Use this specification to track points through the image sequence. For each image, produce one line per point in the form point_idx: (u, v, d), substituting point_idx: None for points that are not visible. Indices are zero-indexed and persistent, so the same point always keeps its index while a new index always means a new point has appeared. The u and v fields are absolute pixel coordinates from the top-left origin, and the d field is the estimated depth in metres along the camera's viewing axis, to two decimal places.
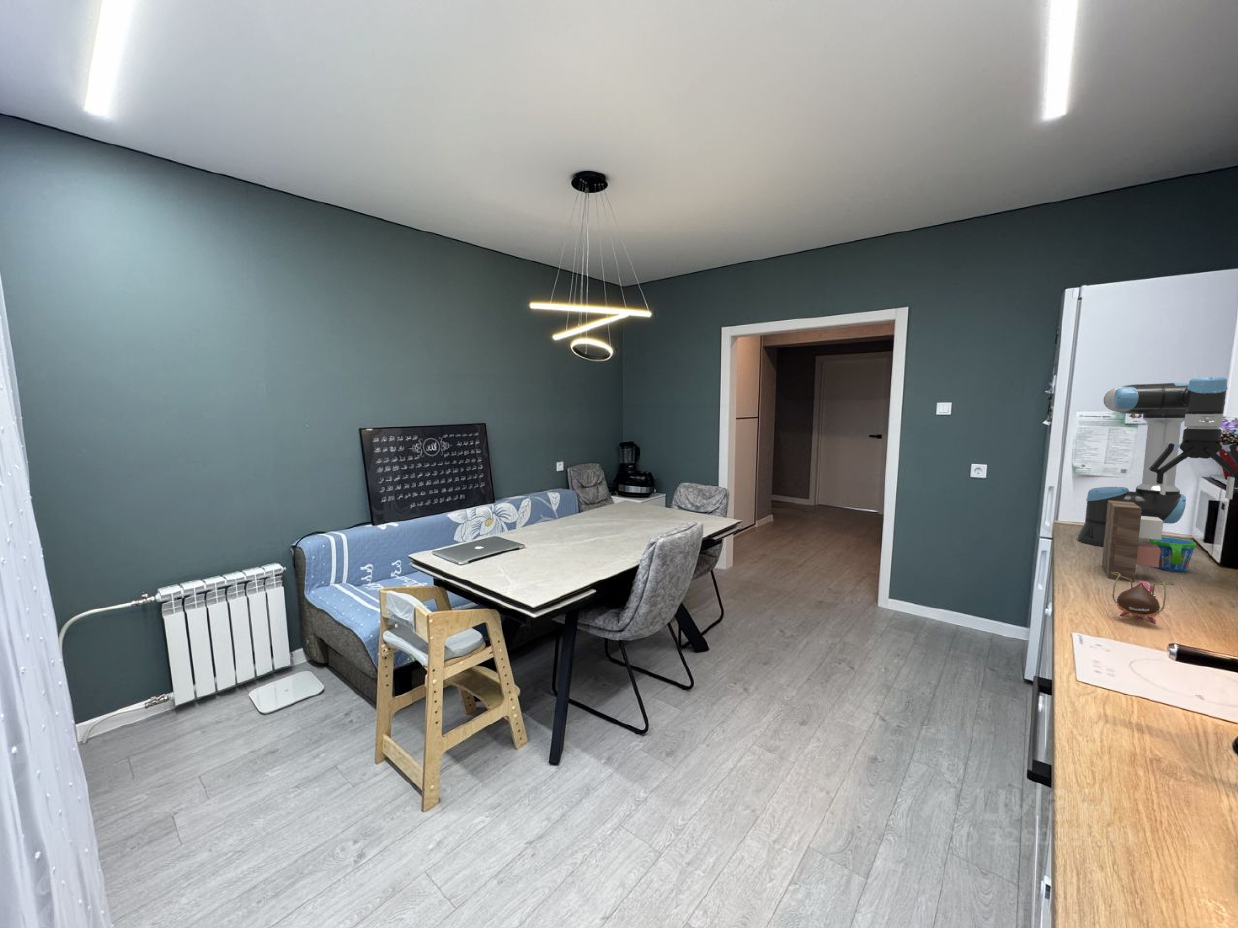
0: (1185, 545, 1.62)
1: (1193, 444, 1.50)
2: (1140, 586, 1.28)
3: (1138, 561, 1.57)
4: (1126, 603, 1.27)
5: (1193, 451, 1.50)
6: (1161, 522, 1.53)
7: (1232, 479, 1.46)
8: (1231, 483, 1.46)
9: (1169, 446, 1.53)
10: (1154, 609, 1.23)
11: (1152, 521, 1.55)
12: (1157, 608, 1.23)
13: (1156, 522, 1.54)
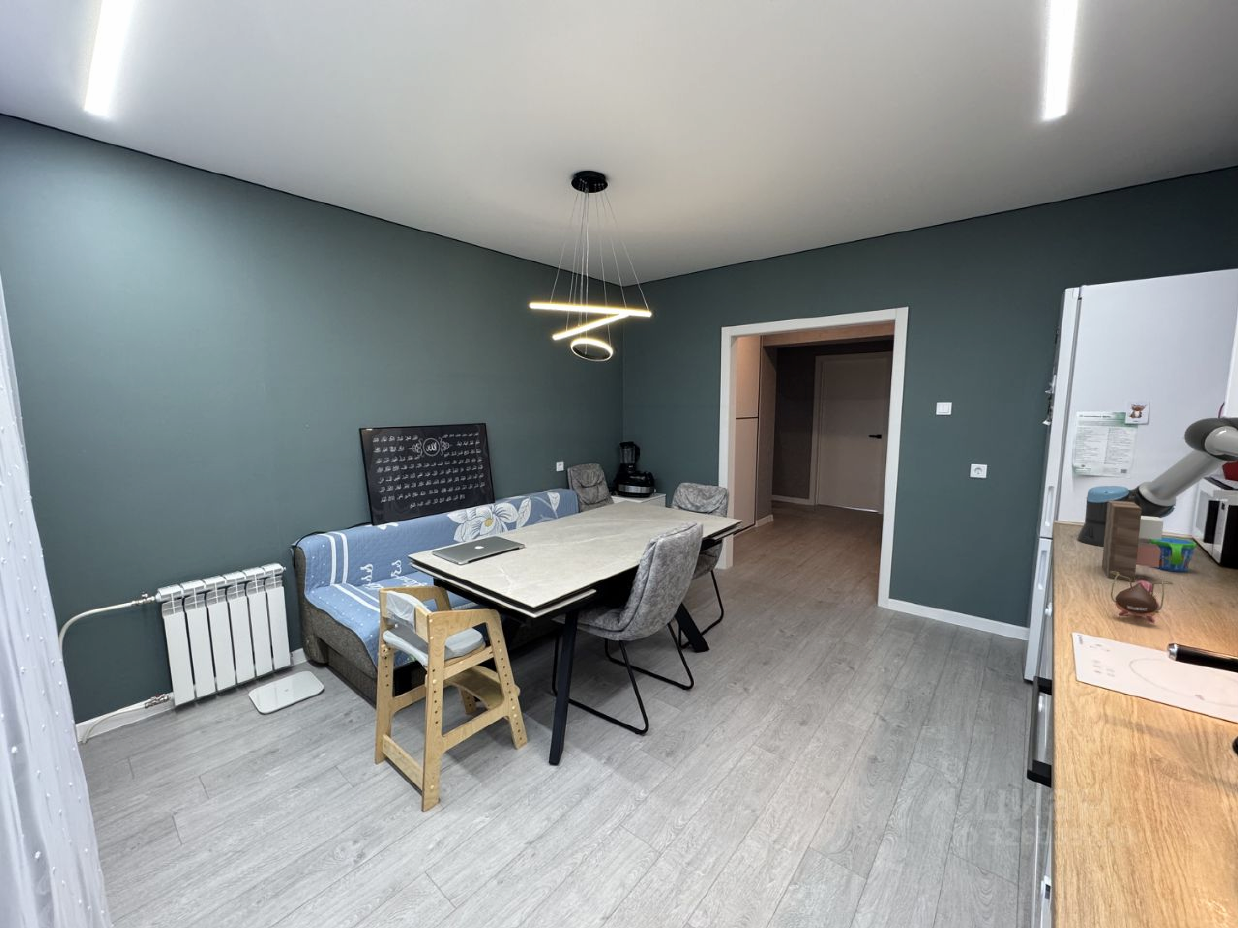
0: (1185, 545, 1.62)
1: None
2: (1139, 585, 1.29)
3: (1138, 561, 1.57)
4: (1124, 602, 1.27)
5: None
6: (1161, 522, 1.53)
7: None
8: None
9: None
10: (1153, 608, 1.24)
11: (1152, 521, 1.55)
12: (1155, 607, 1.24)
13: (1156, 522, 1.54)
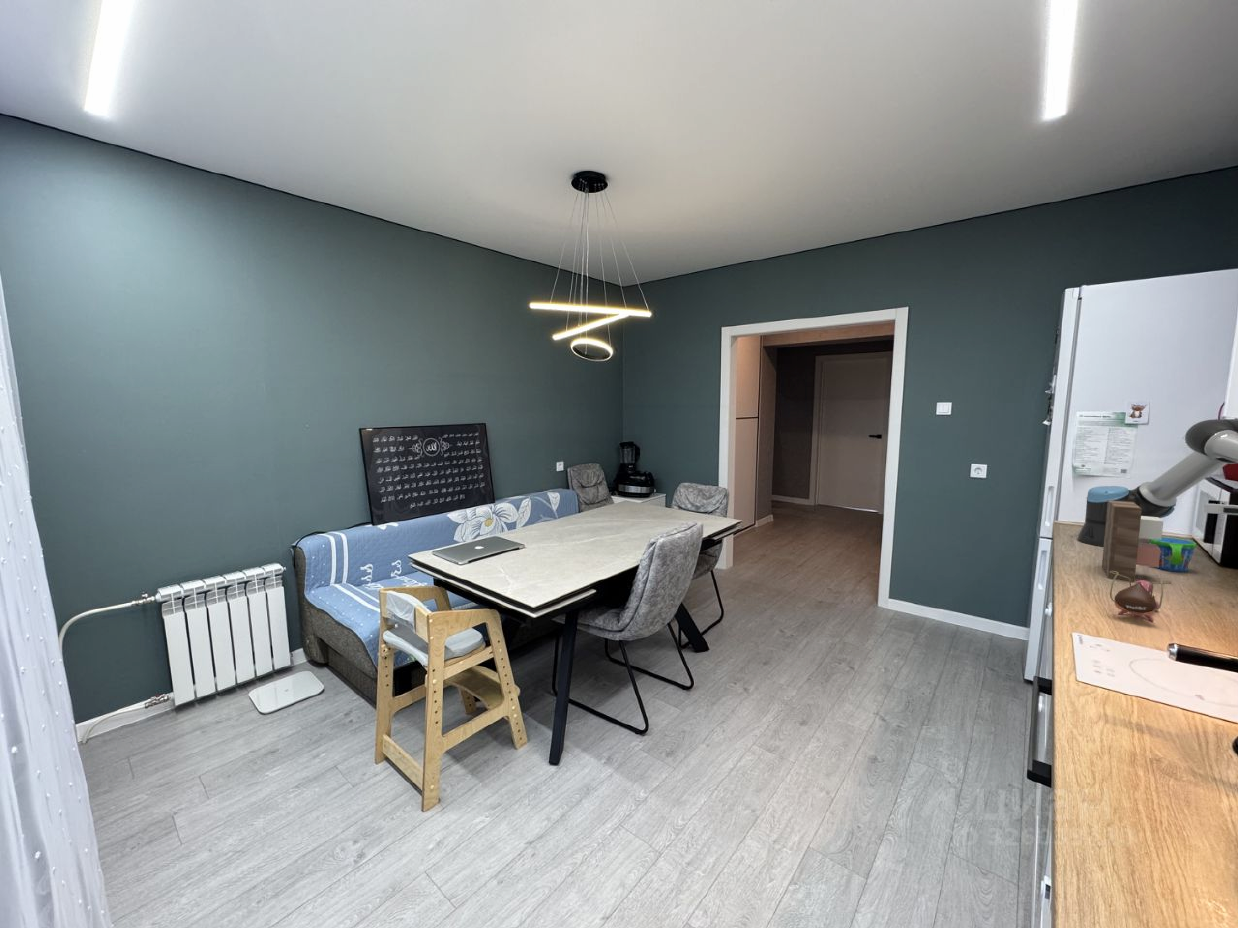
0: (1185, 545, 1.62)
1: None
2: (1138, 584, 1.29)
3: (1138, 561, 1.57)
4: (1123, 601, 1.28)
5: None
6: (1161, 522, 1.53)
7: None
8: (1228, 513, 1.47)
9: None
10: (1151, 608, 1.24)
11: (1152, 521, 1.55)
12: (1154, 607, 1.24)
13: (1156, 522, 1.54)
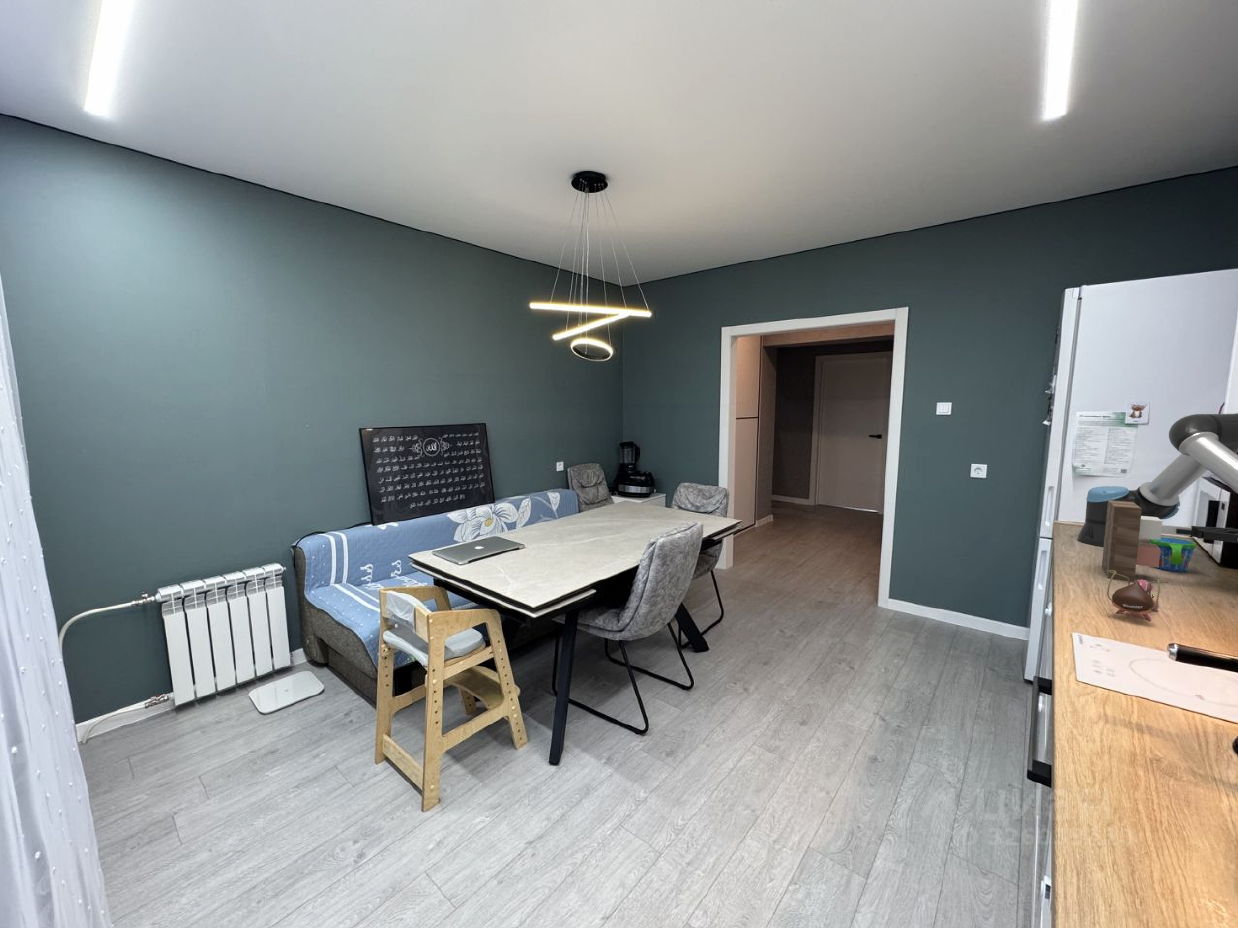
0: (1185, 545, 1.62)
1: None
2: (1135, 584, 1.30)
3: (1138, 561, 1.57)
4: (1120, 600, 1.29)
5: None
6: (1160, 522, 1.54)
7: None
8: (1181, 534, 1.54)
9: None
10: (1148, 607, 1.25)
11: (1151, 521, 1.55)
12: (1150, 605, 1.25)
13: (1155, 522, 1.54)
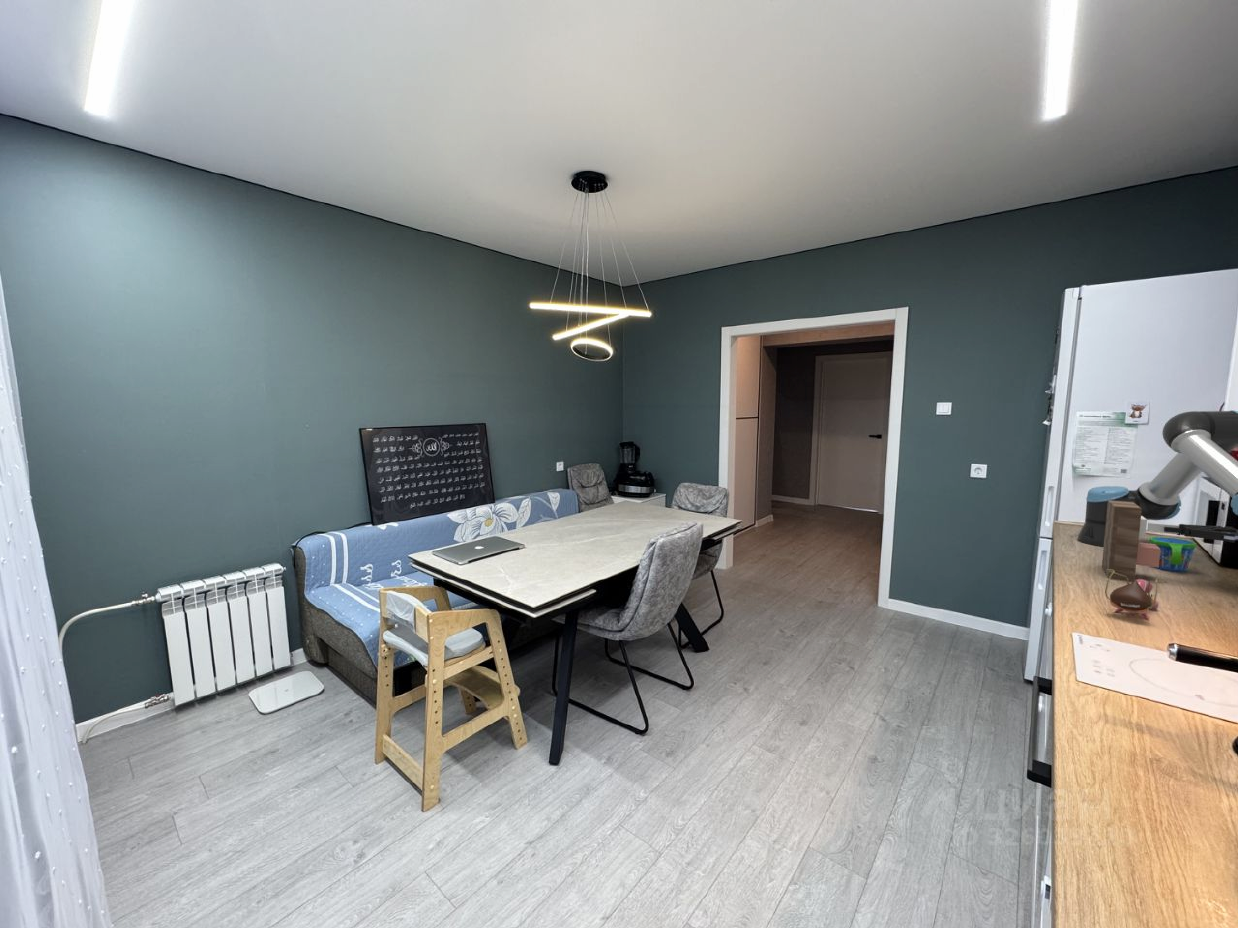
0: (1185, 545, 1.62)
1: None
2: (1134, 583, 1.30)
3: (1138, 561, 1.57)
4: (1117, 599, 1.29)
5: None
6: (1145, 521, 1.56)
7: None
8: (1169, 532, 1.55)
9: (1228, 541, 1.44)
10: (1145, 606, 1.25)
11: None
12: (1148, 605, 1.25)
13: (1140, 521, 1.56)
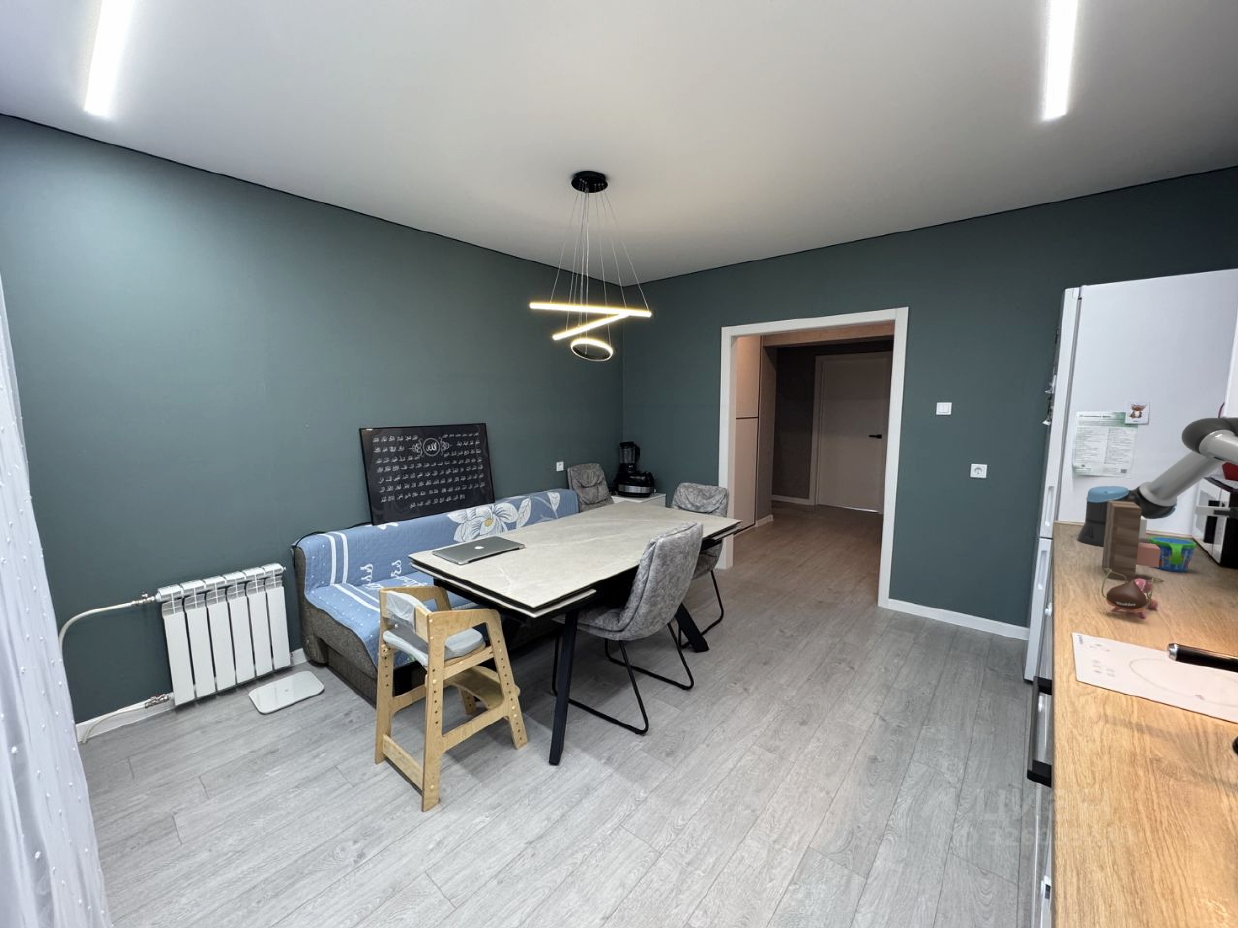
0: (1185, 545, 1.62)
1: None
2: (1131, 582, 1.31)
3: (1138, 561, 1.57)
4: (1113, 597, 1.30)
5: None
6: (1145, 521, 1.56)
7: (1224, 516, 1.48)
8: None
9: None
10: (1141, 604, 1.26)
11: None
12: (1143, 603, 1.26)
13: (1140, 521, 1.56)
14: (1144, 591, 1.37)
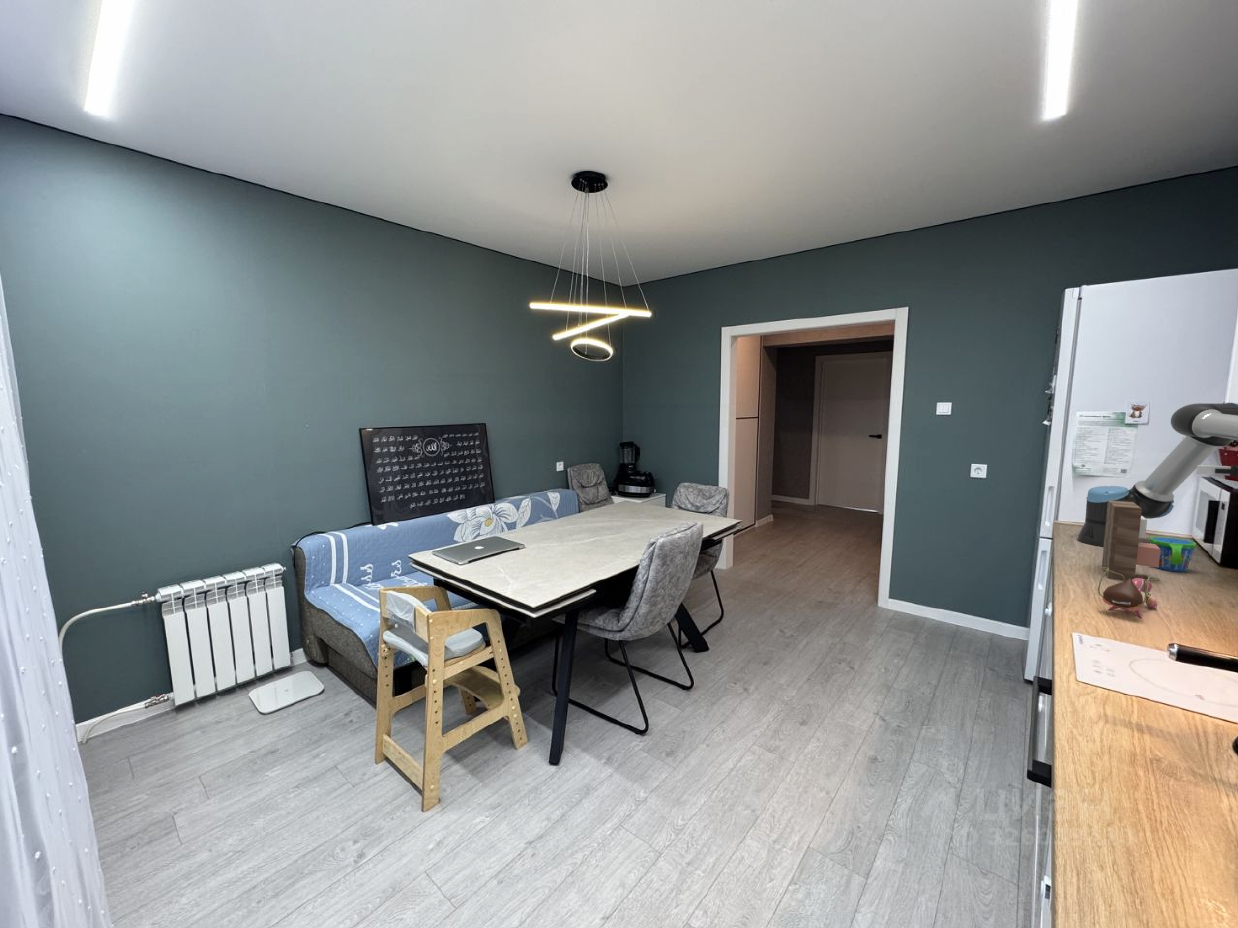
0: (1185, 545, 1.62)
1: None
2: (1128, 581, 1.32)
3: (1138, 561, 1.57)
4: (1109, 596, 1.31)
5: None
6: (1145, 521, 1.56)
7: None
8: (1220, 474, 1.51)
9: None
10: (1136, 603, 1.27)
11: None
12: (1139, 602, 1.27)
13: (1140, 521, 1.56)
14: (1144, 591, 1.37)
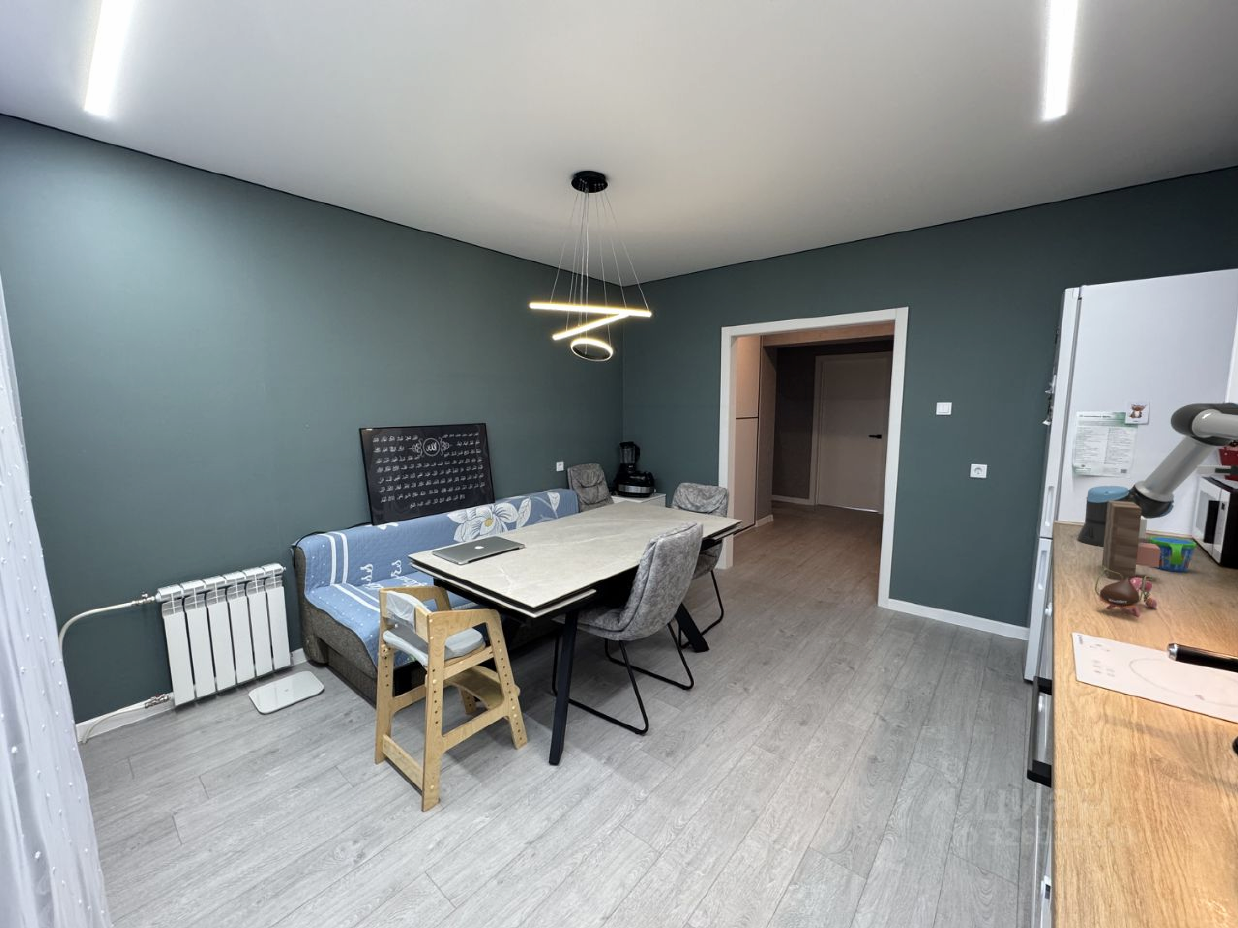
0: (1185, 545, 1.62)
1: None
2: (1125, 580, 1.33)
3: (1138, 561, 1.57)
4: (1105, 594, 1.32)
5: None
6: (1145, 521, 1.56)
7: (1226, 474, 1.51)
8: (1220, 474, 1.51)
9: None
10: (1132, 602, 1.28)
11: None
12: (1135, 601, 1.28)
13: (1140, 521, 1.56)
14: (1144, 590, 1.37)
